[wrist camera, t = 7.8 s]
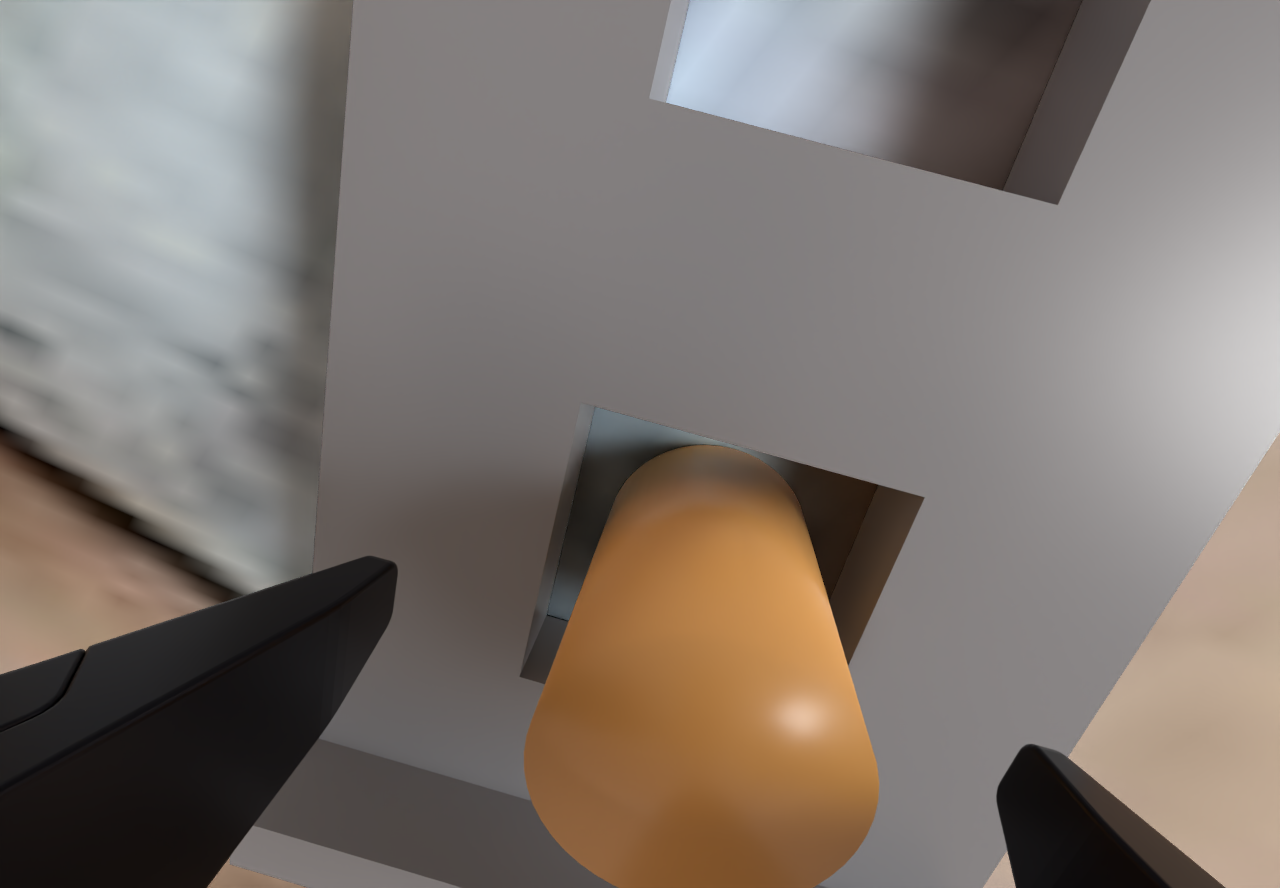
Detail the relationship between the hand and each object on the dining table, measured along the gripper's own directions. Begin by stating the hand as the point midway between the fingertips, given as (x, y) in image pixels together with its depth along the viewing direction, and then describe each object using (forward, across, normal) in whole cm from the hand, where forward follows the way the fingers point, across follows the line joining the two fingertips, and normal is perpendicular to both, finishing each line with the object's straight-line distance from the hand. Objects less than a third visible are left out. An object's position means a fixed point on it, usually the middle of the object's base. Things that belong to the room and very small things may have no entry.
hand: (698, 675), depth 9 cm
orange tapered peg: (+4, 0, 0) cm, 4 cm away
